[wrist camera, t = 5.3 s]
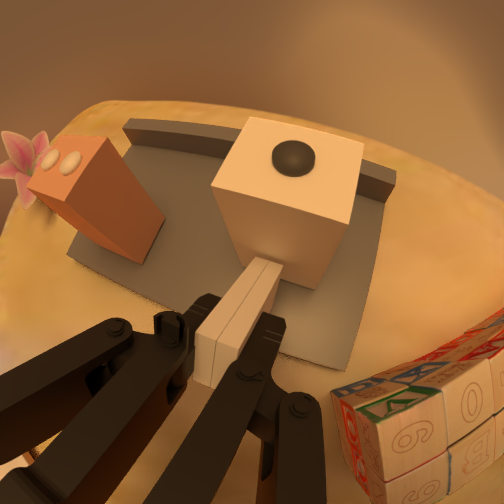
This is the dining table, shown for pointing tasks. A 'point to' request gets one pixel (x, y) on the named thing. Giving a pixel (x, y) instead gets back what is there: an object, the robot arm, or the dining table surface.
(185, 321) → the robot arm
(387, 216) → the dining table surface
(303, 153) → the key one
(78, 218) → the key two
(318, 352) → the tray
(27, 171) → the lily
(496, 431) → the stack of blocks
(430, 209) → the dining table surface
